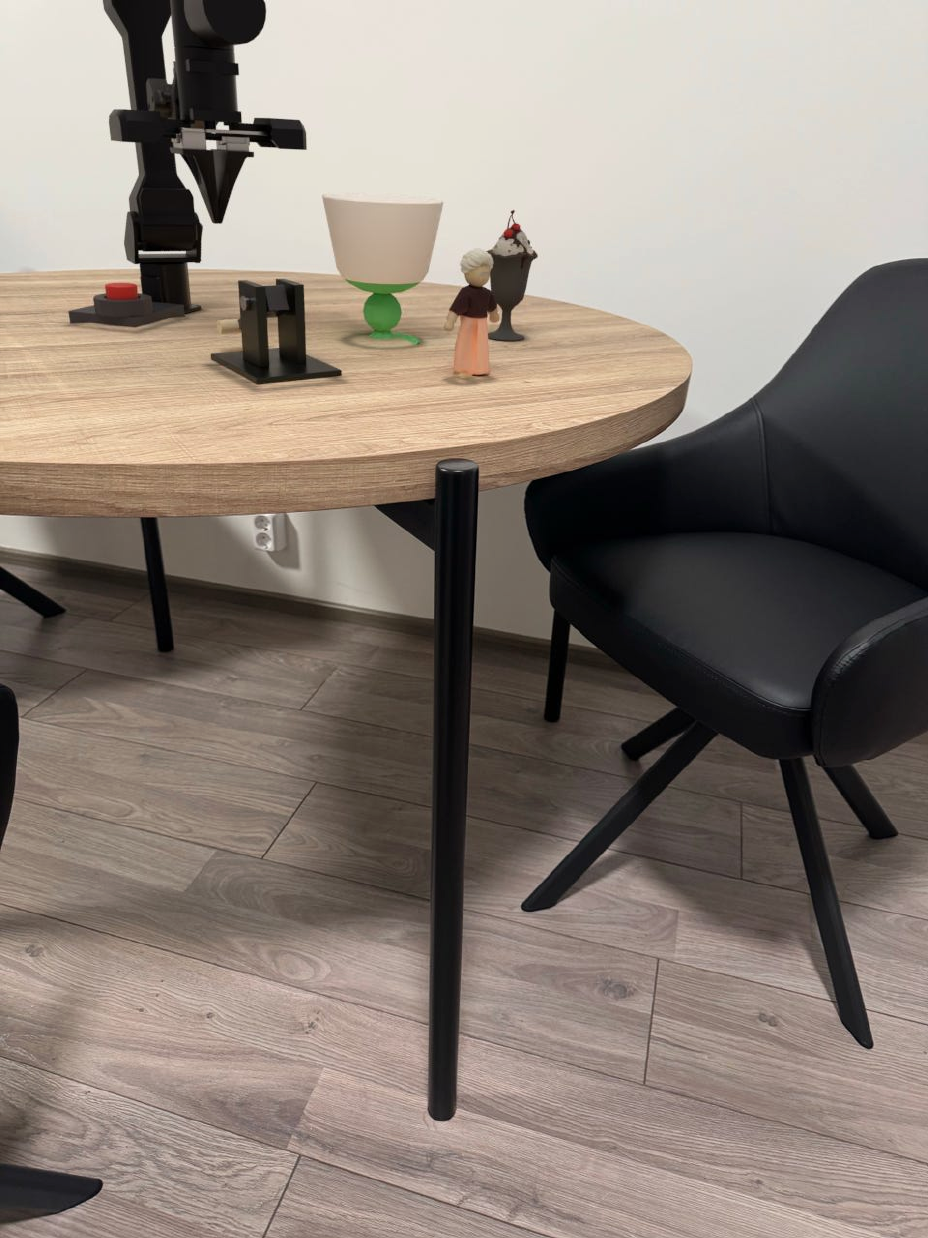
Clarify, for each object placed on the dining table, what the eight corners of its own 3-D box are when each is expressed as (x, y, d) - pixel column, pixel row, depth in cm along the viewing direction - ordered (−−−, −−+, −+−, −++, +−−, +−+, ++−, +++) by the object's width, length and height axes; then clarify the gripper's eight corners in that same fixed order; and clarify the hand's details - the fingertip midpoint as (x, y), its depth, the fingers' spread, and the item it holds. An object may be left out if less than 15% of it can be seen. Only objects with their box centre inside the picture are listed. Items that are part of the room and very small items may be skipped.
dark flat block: (123, 312, 119) (120, 283, 118) (186, 318, 117) (184, 289, 116) (66, 326, 109) (61, 295, 107) (134, 333, 107) (130, 302, 105)
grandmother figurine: (468, 388, 91) (475, 252, 85) (436, 381, 93) (440, 248, 87) (506, 375, 97) (514, 247, 91) (475, 369, 99) (482, 243, 93)
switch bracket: (211, 364, 95) (203, 275, 91) (290, 357, 100) (286, 272, 95) (257, 391, 86) (251, 293, 82) (342, 381, 91) (340, 289, 87)
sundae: (495, 343, 112) (503, 210, 105) (470, 333, 117) (476, 205, 110) (541, 341, 115) (552, 211, 108) (514, 331, 120) (523, 206, 113)
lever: (219, 340, 97) (214, 317, 96) (263, 337, 99) (258, 314, 99) (255, 311, 87) (249, 285, 87) (302, 308, 90) (297, 283, 90)
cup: (301, 337, 110) (296, 192, 102) (385, 326, 119) (386, 192, 111) (378, 358, 102) (379, 202, 94) (462, 344, 111) (468, 201, 103)
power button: (118, 296, 111) (116, 281, 110) (144, 299, 110) (142, 284, 109) (100, 300, 108) (98, 285, 107) (127, 303, 107) (125, 287, 106)
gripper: (268, 61, 99) (275, 217, 107) (88, 45, 91) (109, 215, 98) (306, 57, 91) (310, 226, 98) (111, 38, 82) (132, 225, 90)
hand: (217, 223), depth 96 cm, fingers closed
